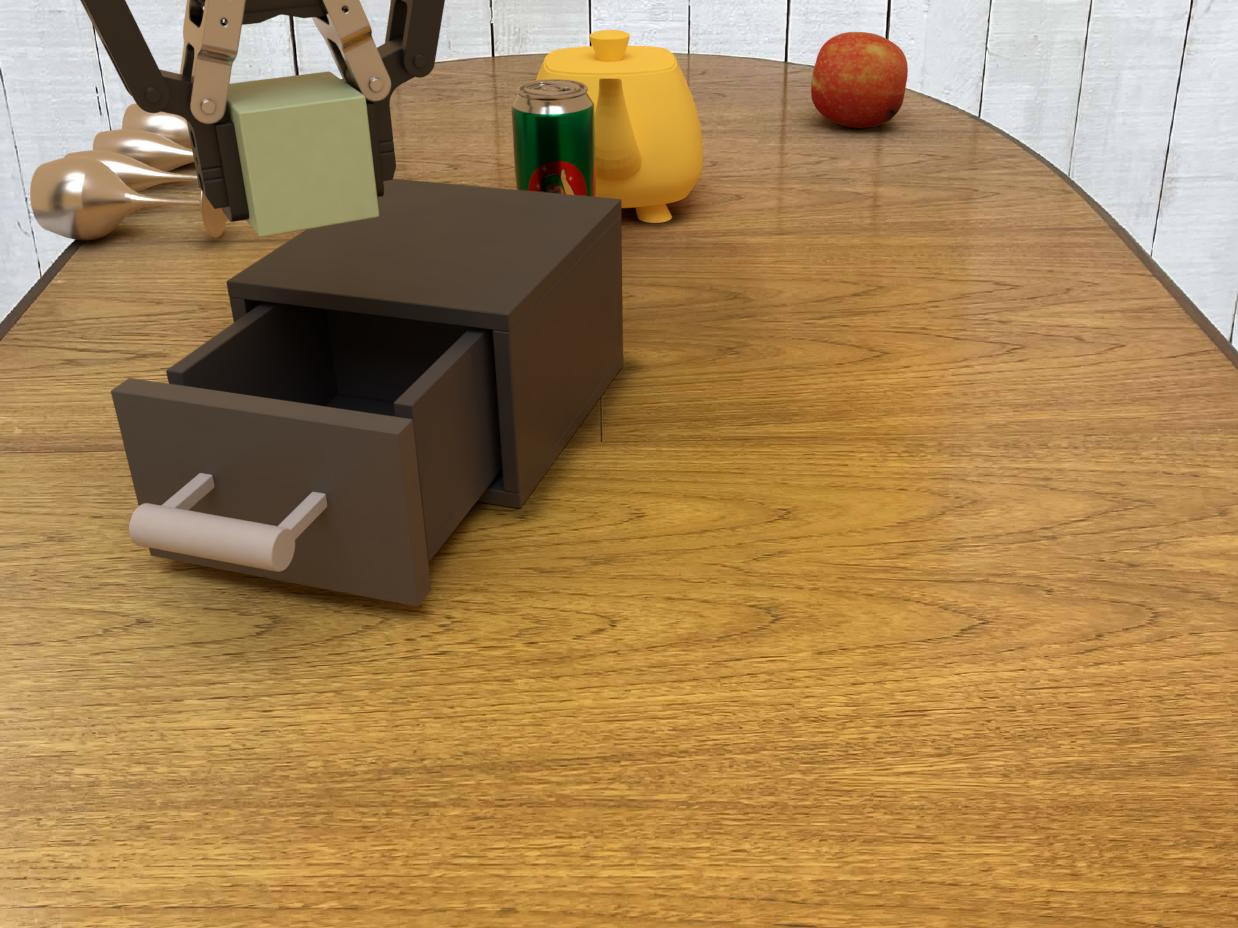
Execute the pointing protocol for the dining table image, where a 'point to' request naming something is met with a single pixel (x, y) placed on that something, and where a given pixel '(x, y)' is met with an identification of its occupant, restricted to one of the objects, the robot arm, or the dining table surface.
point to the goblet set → (117, 178)
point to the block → (303, 152)
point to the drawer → (315, 448)
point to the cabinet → (478, 296)
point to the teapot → (636, 120)
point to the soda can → (554, 138)
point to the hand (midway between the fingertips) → (302, 201)
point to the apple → (859, 79)
